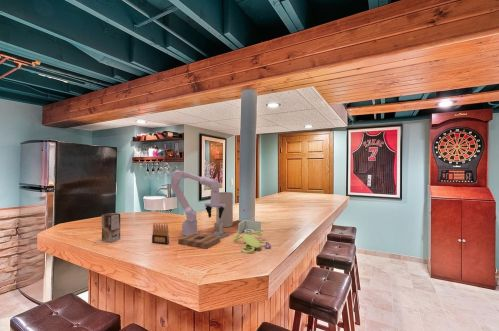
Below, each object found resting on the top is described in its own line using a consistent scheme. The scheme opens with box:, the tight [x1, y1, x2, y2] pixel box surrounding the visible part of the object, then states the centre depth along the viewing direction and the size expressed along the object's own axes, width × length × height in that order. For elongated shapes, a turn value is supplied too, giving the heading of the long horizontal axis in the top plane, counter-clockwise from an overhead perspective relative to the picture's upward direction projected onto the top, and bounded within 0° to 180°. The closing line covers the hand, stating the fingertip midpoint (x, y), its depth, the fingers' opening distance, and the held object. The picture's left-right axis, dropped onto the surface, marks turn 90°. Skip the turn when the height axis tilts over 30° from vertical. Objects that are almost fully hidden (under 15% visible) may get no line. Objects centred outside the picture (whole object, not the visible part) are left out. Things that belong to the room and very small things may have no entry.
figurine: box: [232, 231, 272, 254], centre depth 141 cm, size 18×27×6 cm
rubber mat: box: [210, 232, 230, 240], centre depth 160 cm, size 10×10×1 cm
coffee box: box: [101, 212, 121, 243], centre depth 150 cm, size 9×6×16 cm
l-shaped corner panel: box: [237, 219, 262, 235], centre depth 167 cm, size 12×12×8 cm
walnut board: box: [177, 232, 221, 250], centre depth 144 cm, size 20×14×3 cm
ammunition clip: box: [151, 222, 170, 246], centre depth 143 cm, size 11×2×12 cm, turn 74°
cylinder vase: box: [215, 191, 234, 229], centre depth 186 cm, size 12×12×25 cm
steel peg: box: [213, 221, 224, 236], centre depth 159 cm, size 4×4×8 cm
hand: (215, 217), depth 166 cm, fingers open, 7 cm apart
